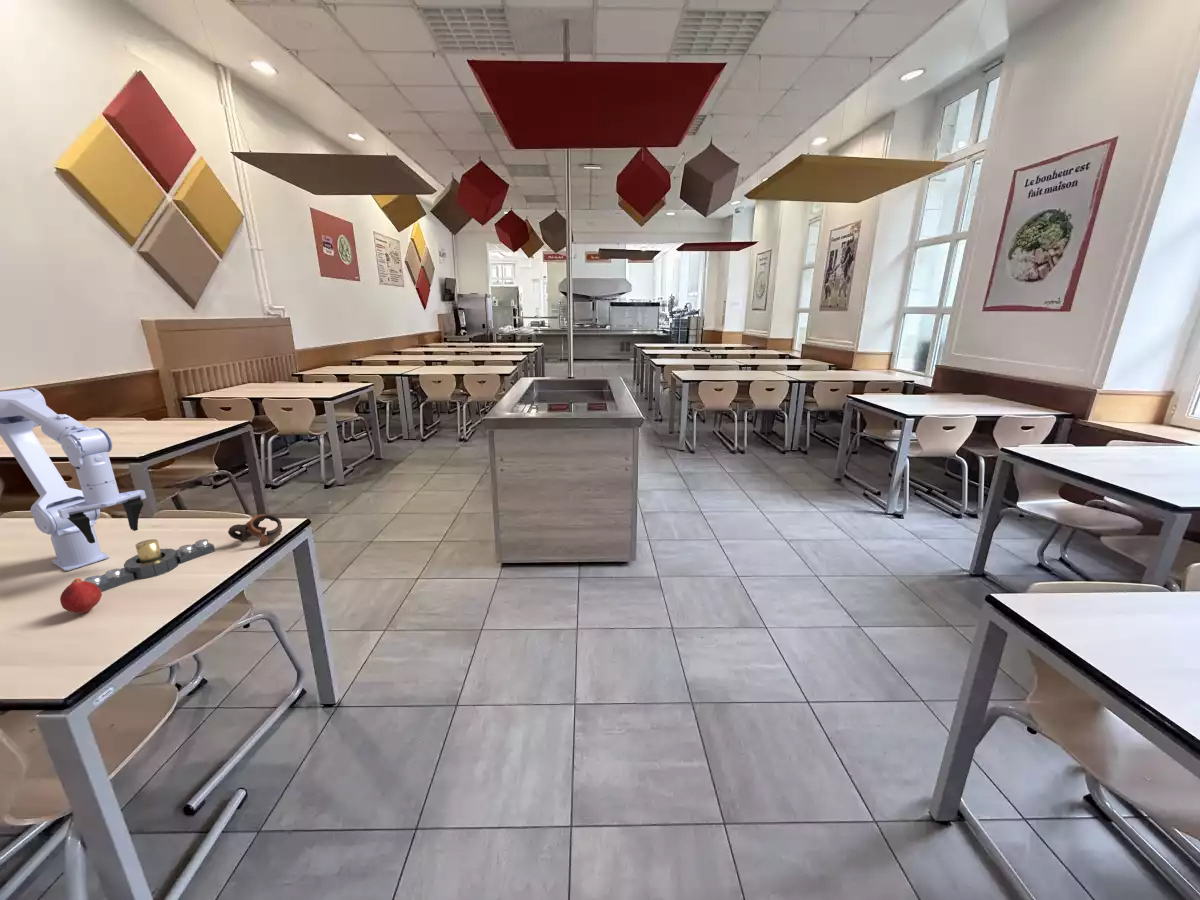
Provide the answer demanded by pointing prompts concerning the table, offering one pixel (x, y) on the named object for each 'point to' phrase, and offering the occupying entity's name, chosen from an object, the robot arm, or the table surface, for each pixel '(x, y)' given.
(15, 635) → the table surface
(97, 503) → the robot arm
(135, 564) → the studded flange bracket
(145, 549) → the pin
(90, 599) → the onion
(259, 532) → the rusty ring shackle
